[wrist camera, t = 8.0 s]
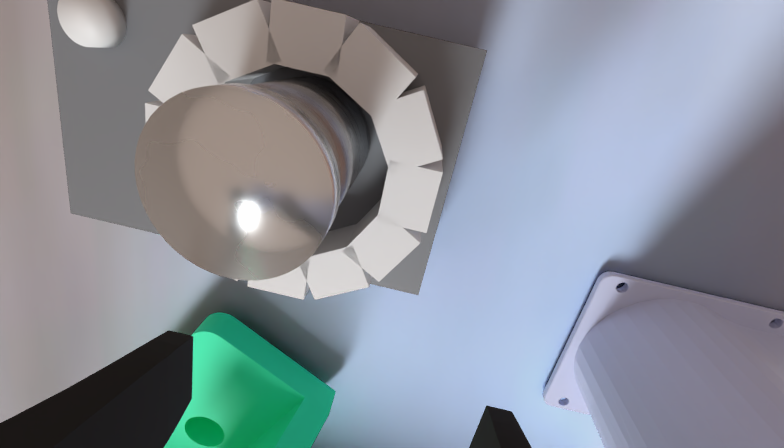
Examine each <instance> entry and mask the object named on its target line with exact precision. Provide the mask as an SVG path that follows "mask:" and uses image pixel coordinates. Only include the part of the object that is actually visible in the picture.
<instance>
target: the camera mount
mask: <svg viewBox="0 0 784 448" xmlns="http://www.w3.org/2000/svg"><path fill="white" fill-rule="evenodd" d="M191 336H193V372H192V400H191V401H190V403H189V405H188V407H187V409H186V411H185V412H184V414H183V416H182V418H181V420H180V421H179V423H178V425H177V427H176V428H175V430H174V432H173V433H172V435H171V437H170V439H169V440H168V442H167V443H166V445H165V446H164V448H311V446H312V445H313V443H314V441H315V439H316V437H317V435H318V434H319V432H320V430H321V428H322V426H323V424H324V423H325V421H326V419H327V417H328V415H329V412H330V409H331V406H332V402H333V399H334V395H335V392H336V391H334V390H333V389H332V388H330V387H329V386H328V385H326V384H325V383H324V382H322V381H321V380H319V379H318V378H317V377H315V376H314V375H313V374H311V373H310V372H309V371H307V370H306V369H304V368H303V367H302V366H300V365H299V364H298V363H296V362H295V361H294V360H292V359H291V358H289V357H288V356H287V355H285V354H284V353H283V352H281V351H280V350H279V349H277V348H276V347H274V346H273V345H272V344H270V343H269V342H268V341H266V340H265V339H263V338H262V337H261V336H259V335H258V334H257V333H255V332H254V331H253V330H251V329H250V328H248V327H247V326H246V325H244V324H243V323H242V322H240V321H239V320H238V319H236V318H235V317H233V316H231V315H229V314H226V313H219V312H218V313H213V314H210V315H209V316H208V317H207V318H206V319H205V320H204V321H203V322H202V323H201V325H200V326H199V327H198V328H197V329H196V330H195V331H194V333H193V334H192V335H191Z"/></svg>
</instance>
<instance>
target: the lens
mask: <svg viewBox="0 0 784 448" xmlns="http://www.w3.org/2000/svg"><path fill="white" fill-rule="evenodd" d="M369 143H370V138H369V129H368V125H367V121H366V118H365V116H364V114H363V112H362V110H361V108H360V106H359V105H358V103H357V102H356V101H355V100H354V99H352V98H351V97H350V96H349V95H348V94H347V93H346V92H345V91H344V90H343V89H342V88H341V87H340V86H338V85H337V84H335V83H333V82H331V81H328V80H326V79H323V78H319V77H311V76H301V77H295V78H289V79H283V80H276V81H270V82H264V83H258V84H252V85H251V84H242V83H226V84H218V85H211V86H204V87H199V88H193V89H190V90H187V91H184V92H181V93H179V94H177V95H175V96H173V97H172V98H170V99H168V100H167V101H166V102H164V103H163V104H162V105H161V106H159V107H158V108H157V109H156V111H155V112H154V113H153V114H152V115H151V116H150V118H149V119H148V121H147V122H146V124H145V125H144V127H143V130H142V132H141V134H140V136H139V139H138V143H137V147H136V153H135V179H136V185H137V189H138V193H139V196H140V200H141V202H142V204H143V207H144V209H145V211H146V213H147V215H148V217H149V219H150V221H151V222H152V224H153V225H154V227H155V228H156V230H157V231H158V232H159V234H160V235H161V236H162V237H163V238H164V239H165V241H166V242H167V243H168V244H169V245H170V246H171V247H172V248H173V249H174V250H176V251H177V252H178V253H179V254H180V255H182V256H183V257H184V258H186V259H187V260H189V261H190V262H192V263H193V264H195V265H197V266H198V267H200V268H202V269H204V270H207V271H209V272H211V273H214V274H217V275H219V276H223V277H227V278H231V279H238V280H253V281H256V280H265V279H270V278H275V277H278V276H281V275H284V274H286V273H289V272H290V271H292V270H294V269H296V268H298V267H299V266H300V265H302V264H303V263H304V262H306V261H307V260H308V259H309V258H310V257H311V256H312V255H313V254H314V252H315V251H316V250H317V248H318V247H319V246H320V244H321V243H322V241H323V239H324V238H325V236H326V234H327V233H328V231H329V229H330V227H331V225H332V223H333V221H334V219H335V216H336V213H337V211H338V207H339V205H340V203H341V202H342V200H343V199H344V197H345V195H346V194H347V192H348V191H349V189H350V187H351V186H352V184H353V183H354V181H355V179H356V178H357V176H358V175H359V173H360V171H361V170H362V168H363V166H364V164H365V162H366V159H367V156H368V152H369Z"/></svg>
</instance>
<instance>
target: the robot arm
mask: <svg viewBox="0 0 784 448" xmlns="http://www.w3.org/2000/svg"><path fill="white" fill-rule="evenodd" d="M622 282H624V283H625V284H624V285H623V287H621V288H616V286H617V285H618V284H619V283H622ZM774 319H775V320H774ZM772 320H774V321H773V322H771V321H772ZM770 322H771V323H770ZM192 372H193V336H190V335H186V334H182V333H177V332H173V331H167V332H165V333H163V334H162V335H160V336H158V337H156V338H155V339H153V340H151V341H149V342H148V343H146V344H144V345H142V346H141V347H139V348H137V349H136V350H134V351H132V352H130V353H129V354H127V355H125V356H124V357H122V358H120V359H118V360H117V361H115V362H113V363H111V364H110V365H108V366H106V367H105V368H103V369H101V370H99V371H97V372H96V373H94V374H92V375H90V376H89V377H87V378H85V379H83V380H81V381H80V382H78V383H76V384H74V385H72V386H71V387H69V388H67V389H65V390H63V391H62V392H60V393H58V394H56V395H54V396H52V397H50V398H48V399H46V400H44V401H42V402H41V403H39V404H37V405H35V406H33V407H31V408H29V409H27V410H25V411H23V412H21V413H19V414H17V415H16V416H14V417H12V418H10V419H8V420H6V421H4V422H2V423H0V448H164V446H165V445H166V443H167V442H168V440H169V439H170V437H171V435H172V433H173V432H174V430H175V428H176V427H177V425H178V423H179V421H180V420H181V418H182V416H183V414H184V412H185V411H186V409H187V407H188V405H189V403H190V401H191V400H192ZM543 398H544V401H545V403H546V404H548V405H550V406H554V407H558V408H562V409H566V410H571V411H575V412H579V413H583V414H588V415H591V417H592V420H593V422H594V424H595V426H596V429H597V431H598V433H599V436H600V438H601V440H602V443H603V445H604V447H605V448H784V312H783V311H779V310H774V309H770V308H766V307H762V306H757V305H753V304H749V303H745V302H740V301H736V300H732V299H728V298H723V297H719V296H715V295H710V294H706V293H702V292H698V291H693V290H689V289H685V288H681V287H676V286H672V285H668V284H664V283H659V282H655V281H651V280H647V279H642V278H638V277H634V276H629V275H625V274H621V273H617V272H610V271H608V272H604V273H603V274H601V275H600V276H599V277H598V279H597V281H596V283H595V285H594V287H593V289H592V291H591V293H590V295H589V298H588V300H587V302H586V304H585V306H584V308H583V310H582V312H581V314H580V316H579V318H578V320H577V323H576V325H575V327H574V329H573V331H572V333H571V335H570V337H569V339H568V341H567V343H566V345H565V348H564V350H563V352H562V354H561V356H560V358H559V360H558V362H557V364H556V366H555V368H554V370H553V373H552V375H551V377H550V379H549V381H548V383H547V385H546V387H545V389H544V391H543ZM561 398H565V399H563V400H560V399H561ZM469 448H531V446H530V444H529V442H528V440H527V438H526V437H525V435H524V433H523V431H522V429H521V427H520V426H519V424H518V422H517V420H516V418H515V416H514V415H513V413H512V412H511V411H507V410H503V409H499V408H494V407H490V406H486V408H485V411H484V413H483V416H482V418H481V420H480V423H479V425H478V428H477V430H476V432H475V435H474V437H473V440H472V442H471V445H470V447H469Z"/></svg>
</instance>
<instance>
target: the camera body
mask: <svg viewBox="0 0 784 448" xmlns="http://www.w3.org/2000/svg"><path fill="white" fill-rule="evenodd" d="M47 1H48V10H49V19H50V28H51V38H52V47H53V56H54V65H55V74H56V83H57V92H58V102H59V111H60V120H61V129H62V138H63V147H64V156H65V165H66V175H67V184H68V193H69V202H70V211H71V213H72V214H76V215H80V216H84V217H89V218H93V219H97V220H101V221H106V222H110V223H114V224H118V225H123V226H127V227H131V228H135V229H140V230H144V231H148V232H152V233H157V234H159V232H158V231H157V230H156V228H155V227H154V225H153V224H152V222H151V221H150V219H149V217H148V215H147V213H146V211H145V209H144V207H143V204H142V202H141V200H140V196H139V193H138V189H137V185H136V179H135V153H136V147H137V143H138V139H139V136H140V134H141V132H142V130H143V127H144V125H145V124H146V122H147V121H148V119H149V118H150V116H151V115H152V114H153V113H154V112H155V111H156V109H157V108H158V107H159V106H161V105H162V104H163V103H164V102H166V101H167V100H168V99H170V98H172V97H173V96H175V95H177V94H179V93H181V92H184V91H187V90H190V89H193V88H199V87H204V86H211V85H218V84H226V83H242V84H251V85H252V84H258V83H264V82H270V81H276V80H283V79H289V78H295V77H301V76H311V77H319V78H323V79H326V80H328V81H331V82H333V83H335V84H337V85H338V86H340V87H341V88H342V89H343V90H344V91H345V92H346V93H347V94H348V95H349V96H350V97H351V98H352V99H354V100H355V101H356V102H357V103H358V105H359V106H360V108H361V110H362V112H363V114H364V116H365V118H366V121H367V125H368V129H369V138H370V143H369V152H368V156H367V159H366V162H365V164H364V166H363V168H362V170H361V171H360V173H359V175H358V176H357V178H356V179H355V181H354V183H353V184H352V186H351V187H350V189H349V191H348V192H347V194H346V195H345V197H344V199H343V200H342V202H341V203H340V205H339V207H338V211H337V213H336V216H335V219H334V221H333V223H332V225H331V227H330V229H329V231H328V233H327V234H326V236H325V238H324V239H323V241H322V243H321V244H320V246H319V247H318V248H317V250H316V251H315V252H314V254H313V255H312V256H311V257H310V258H309V259H308V260H307V261H306V262H304V263H303V264H302V265H300V266H299V267H298V268H296V269H294V270H292V271H290V272H289V273H286V274H284V275H281V276H278V277H275V278H270V279H265V280H256V281H253V280H248V286H247V287H252V288H256V289H260V290H264V291H269V292H273V293H277V294H281V295H286V296H290V297H294V298H298V299H303V300H304V298H305V296H306V294H307V292H308V291H309V289H310V290H311V292H312V295H313V297H314V299H315V300H316V299H321V298H325V297H329V296H333V295H338V294H342V293H346V292H350V291H355V290H359V289H363V288H367V287H369V285H370V284H373V285H378V286H382V287H386V288H390V289H395V290H399V291H403V292H407V293H412V294H416V295H418V294H419V290H420V287H421V283H422V280H423V276H424V272H425V269H426V265H427V262H428V258H429V255H430V251H431V248H432V244H433V241H434V237H435V233H436V230H437V226H438V223H439V219H440V216H441V212H442V209H443V205H444V201H445V198H446V194H447V191H448V187H449V184H450V180H451V177H452V173H453V169H454V166H455V162H456V159H457V155H458V152H459V148H460V145H461V141H462V138H463V134H464V130H465V127H466V123H467V120H468V116H469V113H470V109H471V106H472V102H473V98H474V95H475V91H476V88H477V84H478V81H479V77H480V74H481V70H482V67H483V63H484V59H485V56H486V52H487V50H483V49H479V48H475V47H470V46H466V45H462V44H458V43H453V42H449V41H445V40H440V39H436V38H432V37H427V36H423V35H419V34H414V33H410V32H406V31H402V30H397V29H393V28H389V27H384V26H380V25H376V24H371V23H367V22H363V21H359V20H357V19H355V18H352V17H350V16H348V15H345V14H341V13H337V12H332V11H328V10H324V9H319V8H315V7H311V6H306V5H302V4H298V3H294V2H289V1H285V0H47ZM234 280H236V281H238V279H234Z"/></svg>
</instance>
